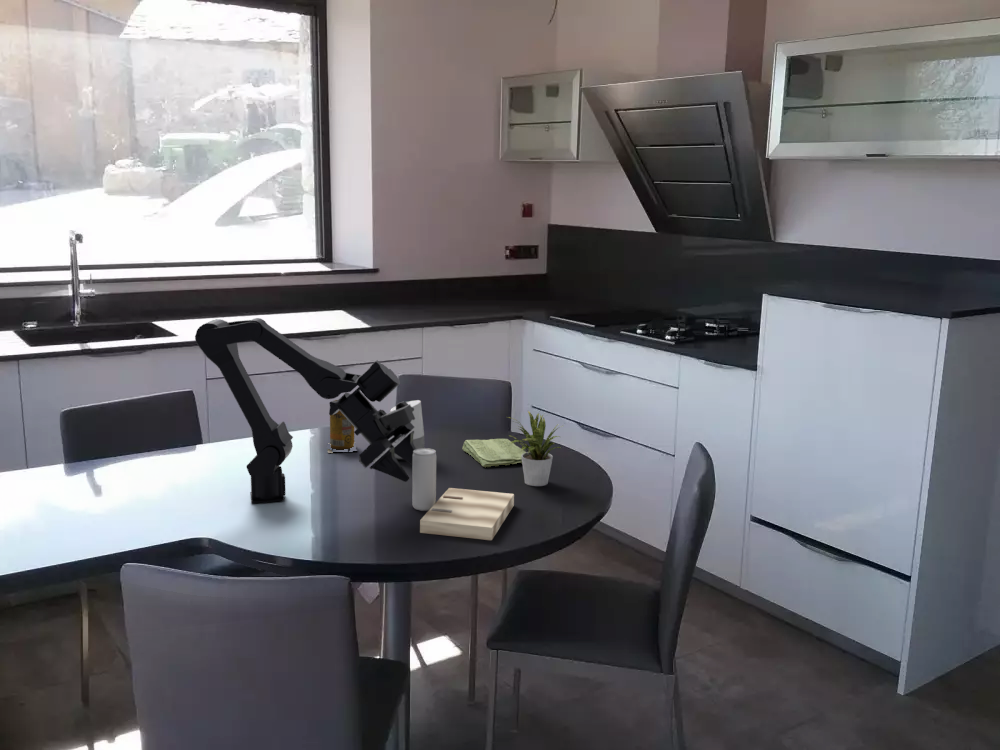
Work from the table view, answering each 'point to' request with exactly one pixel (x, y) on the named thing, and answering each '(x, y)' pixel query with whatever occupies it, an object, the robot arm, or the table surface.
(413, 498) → the beverage can
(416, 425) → the smart speaker
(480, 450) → the washcloth
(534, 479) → the house plant
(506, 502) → the chopping board
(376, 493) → the table surface
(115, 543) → the table surface
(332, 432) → the condiment
